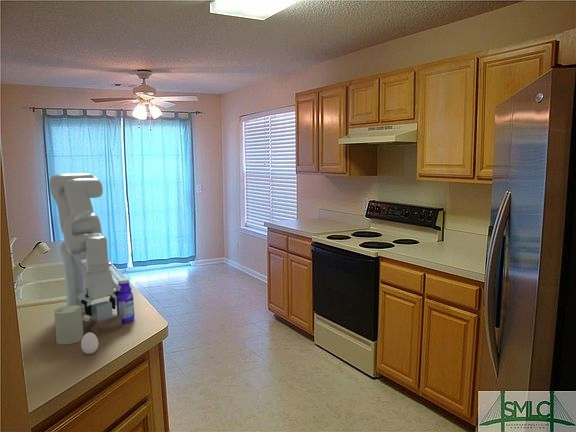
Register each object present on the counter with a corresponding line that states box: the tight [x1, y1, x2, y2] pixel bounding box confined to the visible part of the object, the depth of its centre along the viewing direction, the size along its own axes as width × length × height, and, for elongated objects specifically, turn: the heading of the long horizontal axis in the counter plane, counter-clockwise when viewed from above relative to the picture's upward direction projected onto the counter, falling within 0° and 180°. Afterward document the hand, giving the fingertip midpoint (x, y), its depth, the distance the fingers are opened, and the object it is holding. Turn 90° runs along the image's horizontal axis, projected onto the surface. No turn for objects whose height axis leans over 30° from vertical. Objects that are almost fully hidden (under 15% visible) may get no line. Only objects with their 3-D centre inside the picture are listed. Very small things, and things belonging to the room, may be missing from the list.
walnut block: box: [82, 313, 123, 337], centre depth 171 cm, size 10×10×5 cm
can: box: [53, 305, 85, 345], centre depth 162 cm, size 9×9×12 cm
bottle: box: [116, 277, 135, 324], centre depth 180 cm, size 7×6×17 cm
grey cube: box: [89, 299, 114, 322], centre depth 170 cm, size 6×6×6 cm
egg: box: [80, 332, 99, 355], centre depth 149 cm, size 5×5×7 cm
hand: (101, 311), depth 171 cm, fingers open, 9 cm apart
